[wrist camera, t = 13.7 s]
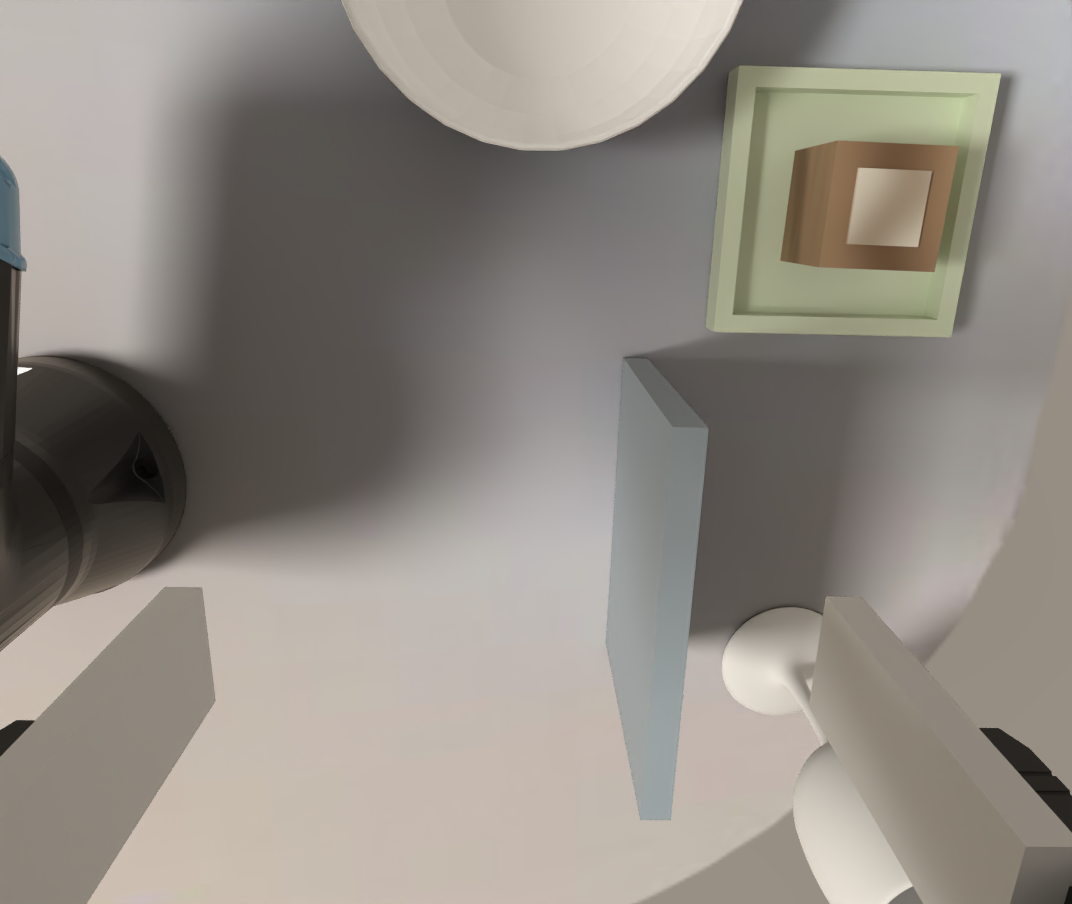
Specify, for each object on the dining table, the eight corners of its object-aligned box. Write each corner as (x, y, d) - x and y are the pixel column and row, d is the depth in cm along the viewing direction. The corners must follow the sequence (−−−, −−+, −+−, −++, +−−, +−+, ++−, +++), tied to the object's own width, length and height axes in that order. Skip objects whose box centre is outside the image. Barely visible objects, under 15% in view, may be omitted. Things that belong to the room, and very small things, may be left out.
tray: (705, 326, 46) (713, 332, 44) (728, 72, 41) (739, 65, 39) (932, 332, 46) (951, 337, 44) (978, 80, 42) (1001, 73, 40)
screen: (627, 643, 52) (670, 820, 37) (605, 643, 52) (640, 819, 37) (647, 358, 46) (709, 427, 31) (623, 357, 46) (672, 427, 31)
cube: (780, 260, 44) (820, 267, 38) (794, 150, 42) (839, 139, 36) (881, 265, 44) (936, 272, 38) (900, 155, 42) (961, 145, 36)
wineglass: (722, 718, 54) (839, 1013, 34) (719, 611, 51) (845, 863, 31) (842, 707, 54) (1031, 997, 34) (846, 600, 51) (1052, 845, 31)
